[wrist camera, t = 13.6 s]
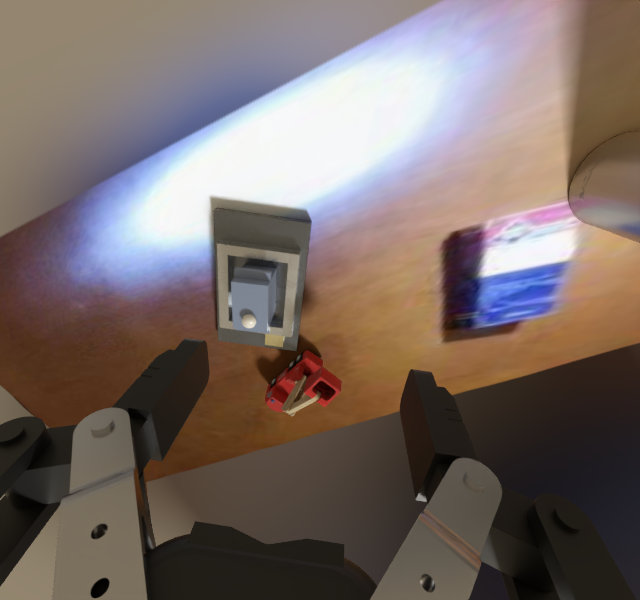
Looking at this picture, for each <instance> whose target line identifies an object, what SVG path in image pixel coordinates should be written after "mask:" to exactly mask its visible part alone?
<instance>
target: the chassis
mask: <svg viewBox="0 0 640 600" xmlns="http://www.w3.org/2000/svg"><path fill="white" fill-rule="evenodd" d="M311 223H312V221H307V220H299V219H292V218H285V217H278V216H271V215H264V214H257V213H249V212H242V211H235V210H228V209H221V208H216V209H215V210H214V237H215V264H216V291H217V319H218V341H225V342H232V343H240V344H247V345H255V346H262V347H269V348H277V349H284V350H291V351H297V346H298V338H299V329H300V320H301V311H302V302H303V293H304V285H305V276H306V267H307V258H308V249H309V240H310V231H311ZM243 265H251V266H260V267H269V268H276V297H275V312H274V315H273V318H272V321H271V323H270V332H269V334H268V333H259V332H250V331H241V330H236V329H233V317H232V293H231V281H232V280H233V279H234V268H235V267H241V268H242V266H243Z"/></svg>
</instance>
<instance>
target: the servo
mask: <svg viewBox="0 0 640 600" xmlns="http://www.w3.org/2000/svg"><path fill="white" fill-rule="evenodd" d="M231 293H232V317H233V329H236V330H241V331H250V332H259V333H268V334H269V332H270V323H271V321H272V318H273V315H274V312H275V297H276V268H269V267H260V266H251V265H243V266H242V268H241V267H235V268H234V279H233V280H232V281H231Z"/></svg>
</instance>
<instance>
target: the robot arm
mask: <svg viewBox="0 0 640 600" xmlns="http://www.w3.org/2000/svg"><path fill="white" fill-rule="evenodd" d="M569 204H570V207H571V210H572V212H573V213H574V215H575V216H576V217H577V218H578V219H579V220H581V221H582V222H584V223H587V224H589V225H592V226H595V227H598V228H600V229H603V230H606V231H609V232H611V233H614V234H616V235H619V236H622V237H625V238H628V239H630V240H633V241H636V242H639V243H640V131H634V132H628V133H624V134H621V135H618V136H616V137H613V138H611V139H609V140H607V141H606V142H604V143H603V144H601V145H600V146H598V147H597V148H596V149H595V150H594V151H593V152H592V153H590V154H589V155H588V156H587V157H586V159H585V160H584V161H583V162H582V164H581V165H580V166H579V168H578V170H577V171H576V173H575V175H574V177H573V180H572V182H571V185H570V191H569ZM208 379H209V361H208V351H207V343H206V342H205V341H202V340H194V339H184V340H183V341H182V342H181V343H180V344H179V346H178V347H177V348H176V349H175V350H170V349H169V350H168V351H166V352H164V353H163V354H161V355H159V356H158V357H156V358H155V360H154V361H153V362H152V363H151V364H150V365H149V366H148V369H146V370H145V371H144V372H143V373H142V374H141V377H139V378H138V379H137V380H136V381H135V382H134V383H133V384H132V385H131V387H130V388H129V389H128V390H127V391H126V392H125V393H124V394H123V396H122V397H121V398H120V399H119V400H118V401H117V402H116V403H115V405H114V406H113V407H112V408H106V409H102V410H99V411H97V412H94V413H92V414H91V415H89V416H87V417H86V418H84V419H83V420H82V421H81V422H80V423H79V424H78V425H72V426H64V427H56V428H48V429H46V426H45V424H44V422H43V421H42V420H41V419H40V418H37V417H21V418H17V419H14V420H11V421H8V422H6V423H3V424H1V425H0V498H1V497H2V496H3V495H4V494H5V496H4V497H3V498H2V499H1V500H0V586H1V585H2V583H3V582H4V581H5V579H6V578H7V577H8V575H9V574H10V572H11V571H12V570H13V568H14V567H15V566H16V564H17V563H18V562H19V560H20V559H21V558H22V556H23V555H24V553H25V552H26V550H27V549H28V548H29V546H30V545H31V544H32V542H33V541H34V540H35V538H36V537H37V536H38V534H39V533H40V531H41V530H42V529H43V527H44V526H45V525H46V523H47V522H48V521H49V519H50V518H51V516H52V515H53V514H54V512H55V511H56V510H57V508H58V507H59V506H60V514H59V526H58V538H57V549H56V561H55V573H54V586H53V598H52V600H468V599H469V597H470V594H471V591H472V588H473V586H474V583H475V580H476V577H477V574H478V572H479V569H480V565H481V561H483V562H485V563H486V564H488V565H490V566H492V567H494V568H496V569H498V570H500V571H501V573H502V577H503V580H504V583H505V587H506V590H507V593H508V597H509V600H636V598H635V596H634V595H633V593H632V591H631V589H630V588H629V586H628V584H627V582H626V581H625V579H624V577H623V576H622V574H621V572H620V570H619V569H618V567H617V565H616V563H615V561H614V560H613V558H612V556H611V555H610V553H609V551H608V549H607V548H606V546H605V544H604V542H603V541H602V539H601V537H600V535H599V534H598V532H597V530H596V529H595V527H594V525H593V523H592V522H591V521H590V519H589V518H588V517H587V516H586V515H585V513H583V511H582V510H580V509H579V508H578V507H577V506H576V505H574V504H573V503H571V502H570V501H569V500H567V499H565V498H563V497H561V496H558V495H556V494H552V493H544V494H541V495H539V496H538V497H537V499H536V500H535V501H534V500H532V499H530V498H527V497H524V496H523V495H520V494H518V493H516V492H513V491H511V490H509V489H507V488H505V487H503V486H501V485H500V483H499V481H498V479H497V478H496V476H495V475H494V474H493V473H492V471H490V470H489V469H488V468H487V467H486V466H484V465H483V464H481V463H480V462H479V460H478V457H477V455H476V452H475V450H474V447H473V445H472V442H471V440H470V437H469V434H468V432H467V429H466V427H465V424H464V423H463V419H462V417H461V414H460V413H459V409H458V407H457V405H456V402H455V399H454V398H453V397H452V395H451V394H450V393H449V392H448V391H447V390H446V388H444V387H437V385H436V382H435V379H434V376H433V374H432V373H431V372H427V371H420V370H413V369H411V370H410V372H409V374H408V378H407V381H406V384H405V388H404V391H403V394H402V398H401V403H400V414H401V420H402V426H403V431H404V437H405V442H406V448H407V454H408V460H409V465H410V471H411V477H412V482H413V488H414V493H415V499H416V500H419V501H425V502H427V507H426V508H425V510H424V512H422V513H421V514H420V516H419V517H418V519H417V521H416V522H415V524H414V526H413V528H412V529H411V531H410V533H409V534H408V536H407V538H406V539H405V541H404V543H403V544H402V546H401V548H400V550H399V551H398V553H397V555H396V557H395V558H394V560H393V561H392V563H391V565H390V567H389V568H388V570H387V572H386V573H385V575H384V577H383V579H382V580H381V582H380V583H379V586H377V584H376V583H375V582H374V581H373V579H372V578H371V577H370V576H369V575H368V574H367V573H366V572H365V571H364V570H363V569H361V568H360V567H359V566H358V565H356V564H355V563H353V562H352V561H350V560H348V559H346V558H344V544H338V543H331V542H325V541H318V540H311V539H302V540H296V541H289V542H282V543H275V544H264V543H262V542H260V541H258V540H256V539H254V538H252V537H250V536H248V535H246V534H244V533H242V532H240V531H238V530H236V529H234V528H232V527H228V526H221V525H215V524H208V523H202V522H195V523H194V526H193V528H192V531H191V533H190V534H187V535H183V536H180V537H176V538H174V539H171V540H169V541H166V542H164V543H162V544H160V545H158V546H157V547H156V542H155V537H154V533H153V528H152V522H151V514H150V507H149V501H148V493H147V486H146V479H145V472H144V468H145V467H146V465H147V463H148V462H149V460H150V459H151V460H157V461H163V459H164V457H165V456H166V454H167V452H168V450H169V449H170V447H171V445H172V444H173V442H174V440H175V438H176V437H177V435H178V433H179V432H180V430H181V428H182V427H183V425H184V423H185V421H186V420H187V418H188V416H189V415H190V413H191V411H192V409H193V408H194V406H195V404H196V403H197V401H198V399H199V397H200V396H201V394H202V392H203V391H204V389H205V387H206V385H207V382H208Z"/></svg>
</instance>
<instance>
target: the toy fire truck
mask: <svg viewBox="0 0 640 600" xmlns="http://www.w3.org/2000/svg"><path fill="white" fill-rule="evenodd" d="M322 366H323V360H322V359H320V358H319V357H317V356H316V355H314V354H313V353H312V352H310V351H309V350H306V351H305V352H304V353H303V355H302V354H300V355H299V356H298V357H297V358H296V361H292V362H291V363H290V365H289V367H288V368H286V369H285V370H284V371H283V372H282V373H281V374H280V375H279V376H278V377H277V378H274V379H273V380H272V382H271V384H269V386H268V388H267V394H266V396H265V402H266V404H267V405H268V406H269V407H270V408H271V409H272V410H275V411H279V412H283V411H284V412H286V413H287V414H289V415H291V416H294V415H295V413H296V411H298V410H300V409H302V408H304V407H305V406H307V405H309V404H311V403H313V402H315V401H317V402H318V403H319V404H321V405H322V406H324V407H326V406H327V405H328V404H329V403H330V402H331V401H332V400H333V399H334V398H335V397H336V396H337V395H338V394H339V393H340V392H341V384H342V381H341V380H340V379H338V378H337V377H336V376H334V375H333V374H332V373H330V372H329V371H328V370H326V369H325V368H323V367H322ZM305 394H307V396H305V397H304V395H305Z"/></svg>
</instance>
